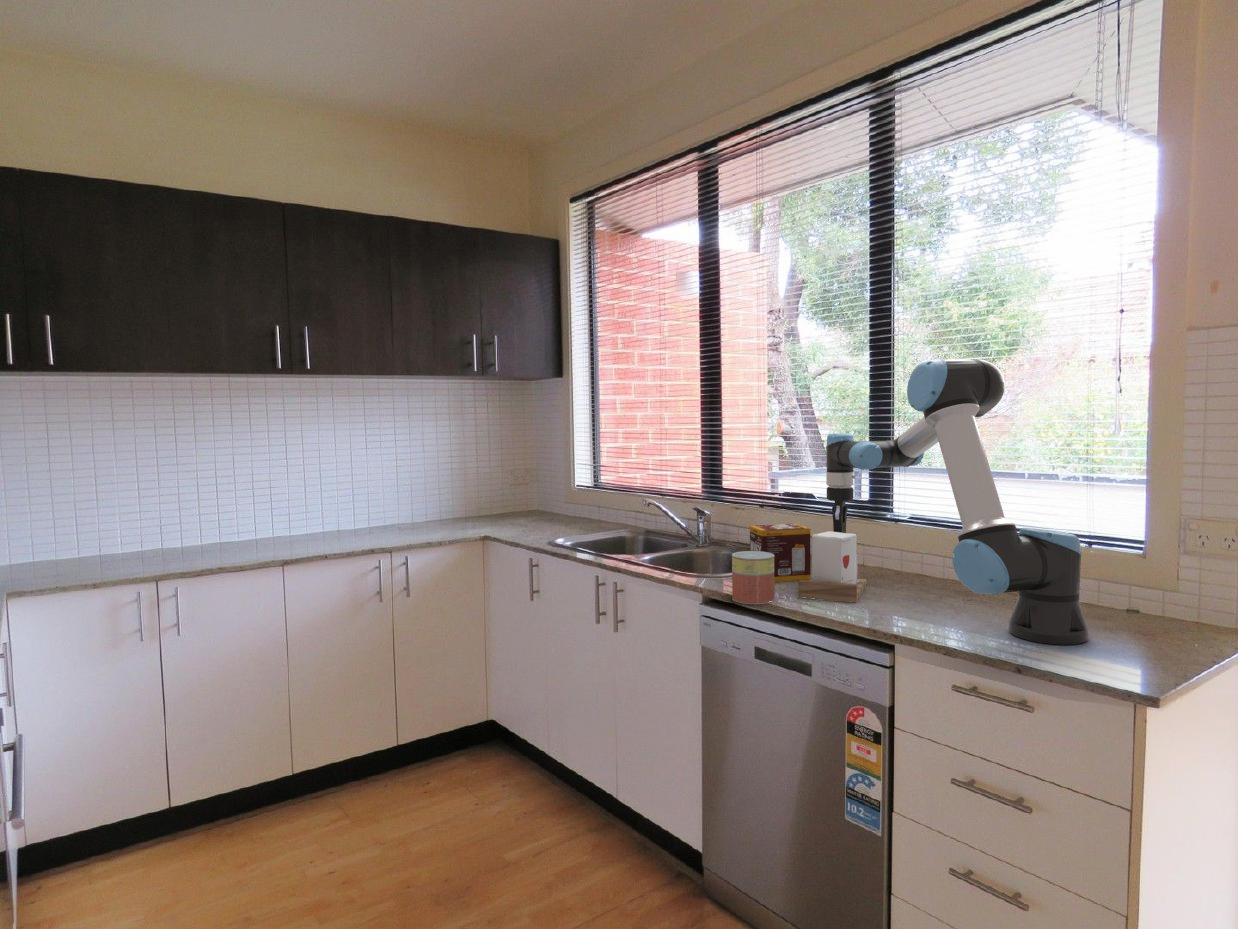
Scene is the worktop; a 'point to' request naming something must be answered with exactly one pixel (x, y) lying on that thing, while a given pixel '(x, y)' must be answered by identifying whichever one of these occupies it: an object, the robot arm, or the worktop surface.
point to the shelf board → (831, 590)
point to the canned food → (753, 577)
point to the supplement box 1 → (784, 549)
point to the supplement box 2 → (834, 557)
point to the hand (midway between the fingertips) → (839, 566)
